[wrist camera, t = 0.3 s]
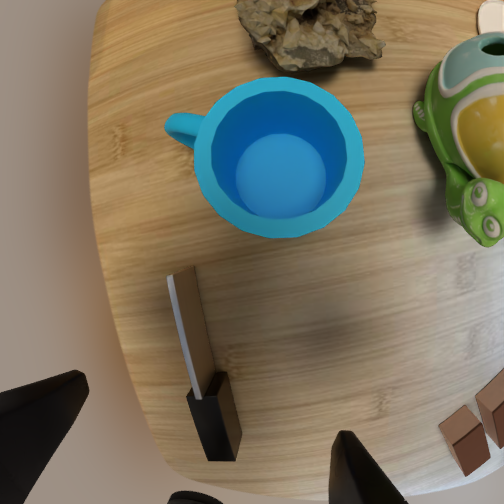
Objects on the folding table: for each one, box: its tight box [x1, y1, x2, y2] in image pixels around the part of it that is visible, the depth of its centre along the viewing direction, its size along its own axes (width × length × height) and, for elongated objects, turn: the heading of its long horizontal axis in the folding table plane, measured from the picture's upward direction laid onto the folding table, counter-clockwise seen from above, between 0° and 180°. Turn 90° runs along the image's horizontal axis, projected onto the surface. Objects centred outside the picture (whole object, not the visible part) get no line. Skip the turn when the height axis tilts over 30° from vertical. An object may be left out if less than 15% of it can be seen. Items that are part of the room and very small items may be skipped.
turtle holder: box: [413, 31, 504, 247], centre depth 13 cm, size 12×18×12 cm
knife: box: [166, 266, 242, 461], centre depth 21 cm, size 16×2×4 cm, turn 10°
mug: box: [164, 77, 365, 238], centre depth 17 cm, size 12×8×8 cm
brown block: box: [439, 405, 491, 477], centre depth 19 cm, size 4×8×4 cm, turn 36°
